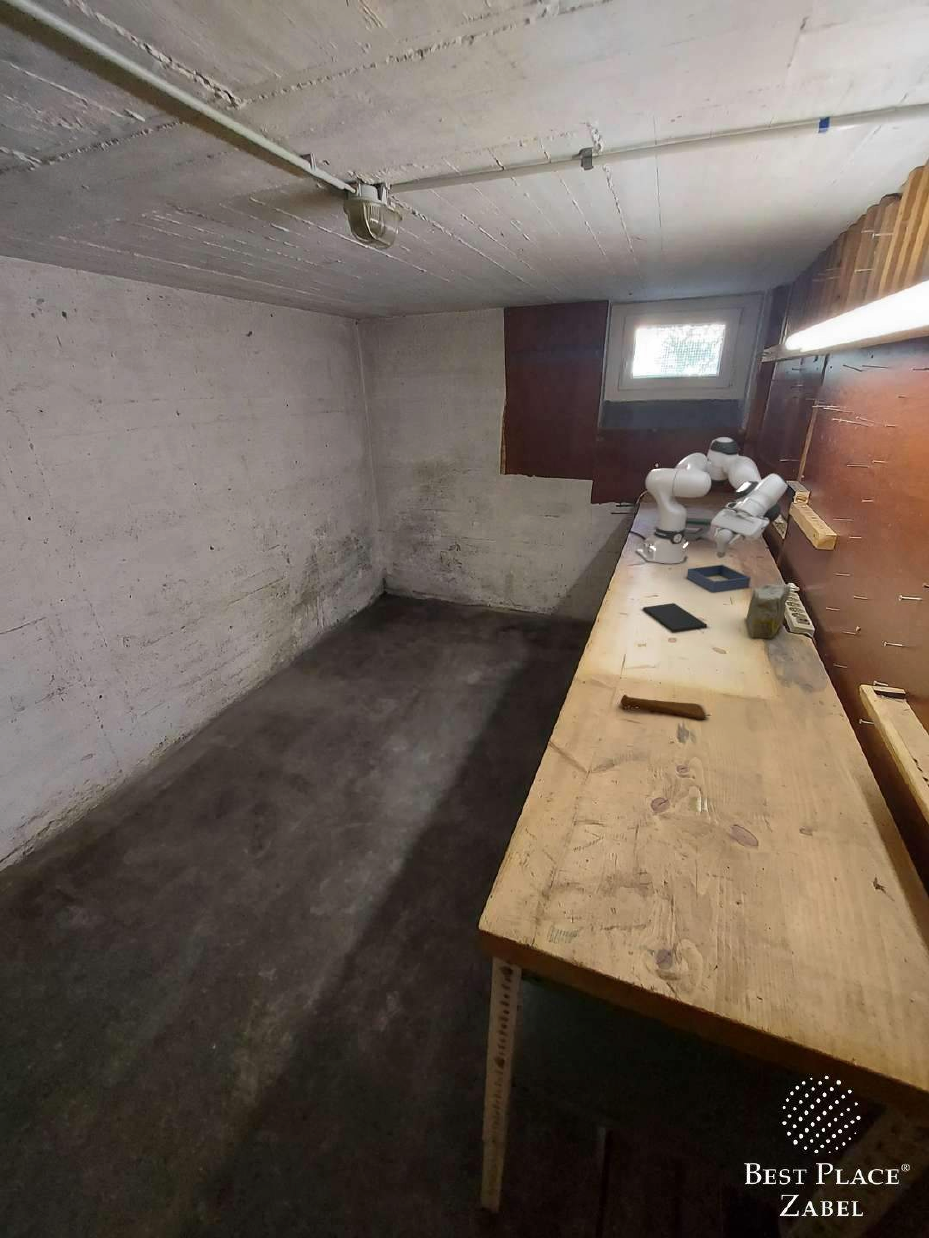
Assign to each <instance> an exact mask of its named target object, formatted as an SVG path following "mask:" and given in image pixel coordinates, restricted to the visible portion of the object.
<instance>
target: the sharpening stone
mask: <svg viewBox="0 0 929 1238" xmlns="http://www.w3.org/2000/svg"><path fill="white" fill-rule="evenodd" d="M715 516H716V515H710V514H697V513H687V516H686V522H685V536H684V539H685V540H691V541H696V540H697V539H699V538H700V537H702V536H703V535H705V534H706V533H708V532H709V531H710V530H711V526H712V524H711V522H712V520H713V519H714V517H715ZM687 528H688V529H687Z"/></svg>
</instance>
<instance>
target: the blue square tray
mask: <svg viewBox="0 0 929 1238" xmlns="http://www.w3.org/2000/svg"><path fill="white" fill-rule="evenodd" d="M719 575H720V576H722V577H724V578H726V579H723V580H722V579H721V580H712V579H711V578H709V577H712V576H719ZM686 579H687V580H689V581H691V582H692V583H694V584H696V585H698V586H700V587H702V588H703V589H705V590H707V591H709V592H711V593H718V592H725V591H732V590H739V589H747V588H749V586H750V582H751V577H750V576H748V575H746V574H744V573H742V572H740V571H737V570H736V569H733V568H731V567H729V566H726V565H724V564H717V565H709V566H701V567H699V566H698V567H692V568H687V574H686Z"/></svg>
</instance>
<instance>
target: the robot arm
mask: <svg viewBox="0 0 929 1238" xmlns="http://www.w3.org/2000/svg"><path fill="white" fill-rule="evenodd" d="M740 451H741V448H740V447H738V444H737V442H736V441H735V440H734V439H733V438H731V437H726V436H721V437H716V438H715V439H713V440H712V441H711V443H710V445H709V448H708V452H707V454H706V455H707V456H706V455H705V454H704V453H702V452H694V453H691V454H689V455H687V456H685V457H684V458H683V459H682V460H681V461H680V462H679V463H678V464H677V465H676V466H675V467H674V468H667V467H666V468H665V467H662V468H656V469H651V470H650V471H649V472H648V474H647V476H646V478H645V488H646V490H647V491H648V493H650V495H652V497H653V498H654V499H655V502H656V504H657V509H658V517H657V526H653V529H654V532H653V534H652V535H650V536H649V537H647V538H646V537H645V536H644V535H642V534H640V533H638V532H635V531H632V530H630V526H627V531H628V532H629V533H631V534H634V535H637V536H639V537H641V538H642V539H644V540H643V545H642V547H640V548H637V549H636V552H637V554H639V555H640V556H641V557H642V558H643V559H645V561H647V562H652V563H660V564H669V565H671V564H679V563H683V562H684V559H685V558H686V556H687V554H685V550H686V547H687V546H688V544H689V542H686V539H684V536H685V529H686V527H685V522H686V516H687V514H688V512H687V510H686V508H685V507H684V506H683V505H682V504H680V503H679V502H678V501H677V499H676V497H678V498H680V497H681V498H688V499H689V498H691V499H692V498H703V497H704V496H705V495H707V493H708V492H709V491H710V489H711V488H713V489H717V488H722V487H723V486H725V485H726V484H727V482H729V484H730V485H731V486H732V487H733V488H734V489H735V490H734V494H733V501H735V502H728V503H727V504H726V505H725V508H722V509H721V510H720V511H719V512H718V513H717V514H716V515H714V516H715V517H714V519H713V520H712V522H711V526H712V527H713V528H714V529H715V534H714V535H713V536H712V538H713V540H714V541H715V536H716V534H717V532H719V531H720V530H723V529H727V530H730V531H731V532H732V533H733V536H734V538H733V539H730V540H729V541H728V544H729V546H731V547H732V546H734V545H735V544H736V543H738V542H740V541H743V540H744V539H745V540H747V541H750V542H754V541H756V540H758V539H759V537H760V536H761V535H762V534H763V532H764V531H765V529H766V528H767V526H768V525H769V524H771V523H773V522H775V521H776V520H777V519H778V518H779V516H780V515H781V512H782V505H781V504H780V503H779V502H778V501H779V500H780V499H781V497H782V496H783V495H784V494H785V492H786V490H787V489H788V486H789V485H788V483H787V481H786V480H785V479H784V478H783V477H782V476H780V475H779V474H777V473H770V474H768V475H767V476H766V477H764V478H763V479H762V478H761V475H760V474H761V473H760V472H759V469H758V467H757V465H756V463H755V461H754V460H752V459H751V458H749V457H748V456H745V455H744V456H742V455H739V452H740Z"/></svg>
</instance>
